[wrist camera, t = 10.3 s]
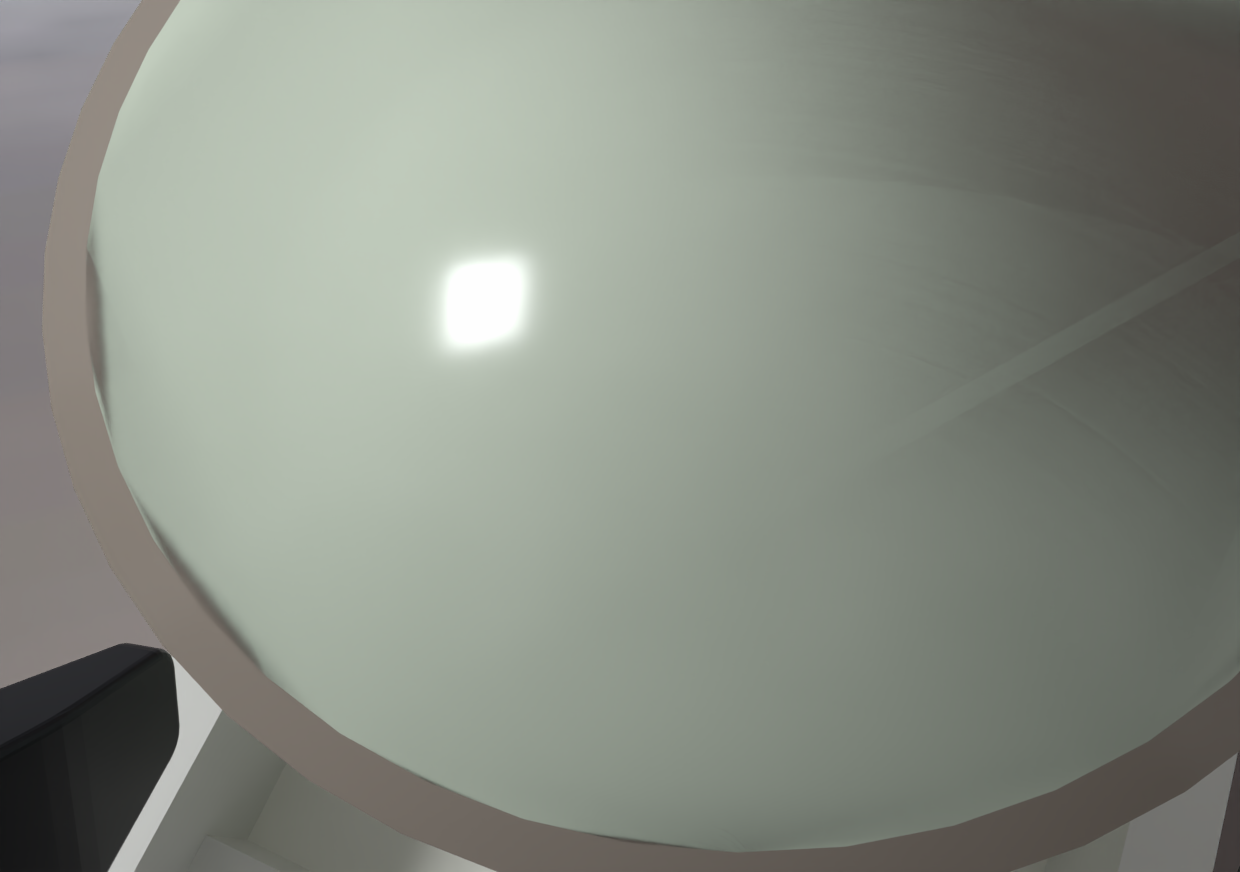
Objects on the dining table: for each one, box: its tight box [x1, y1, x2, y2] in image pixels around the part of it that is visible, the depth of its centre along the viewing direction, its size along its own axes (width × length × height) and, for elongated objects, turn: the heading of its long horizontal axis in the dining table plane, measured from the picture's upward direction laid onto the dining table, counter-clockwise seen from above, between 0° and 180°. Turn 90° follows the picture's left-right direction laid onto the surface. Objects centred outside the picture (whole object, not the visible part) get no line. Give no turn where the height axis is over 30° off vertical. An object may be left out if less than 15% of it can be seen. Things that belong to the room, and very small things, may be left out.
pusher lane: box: [108, 656, 1238, 872], centre depth 17 cm, size 26×13×7 cm, turn 157°
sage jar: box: [42, 0, 1240, 872], centre depth 11 cm, size 6×6×13 cm
